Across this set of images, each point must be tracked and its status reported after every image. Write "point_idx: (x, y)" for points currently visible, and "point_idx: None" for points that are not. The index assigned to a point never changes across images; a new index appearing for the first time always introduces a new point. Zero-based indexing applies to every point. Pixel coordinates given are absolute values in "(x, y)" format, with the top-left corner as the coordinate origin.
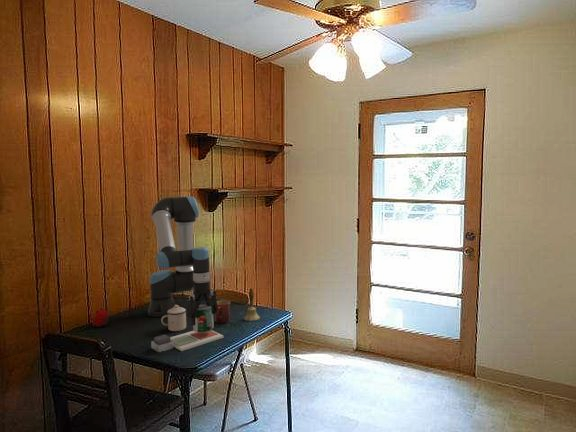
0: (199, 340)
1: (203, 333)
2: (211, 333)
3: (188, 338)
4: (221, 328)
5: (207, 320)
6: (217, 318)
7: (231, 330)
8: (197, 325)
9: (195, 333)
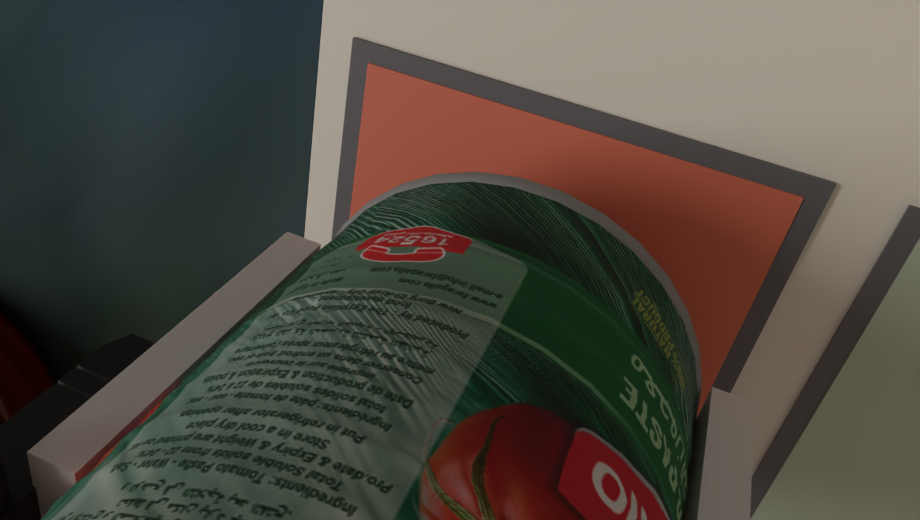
0: (893, 168)
1: None
2: None
3: (883, 447)
4: (118, 230)
5: (439, 372)
6: None
7: (44, 5)
8: (698, 517)
9: None
